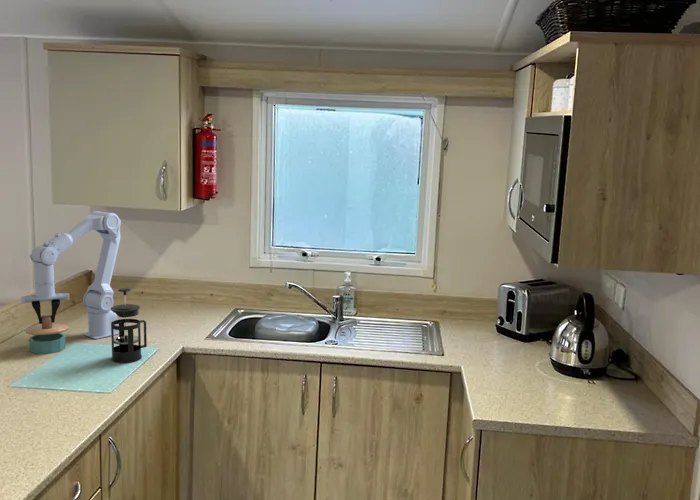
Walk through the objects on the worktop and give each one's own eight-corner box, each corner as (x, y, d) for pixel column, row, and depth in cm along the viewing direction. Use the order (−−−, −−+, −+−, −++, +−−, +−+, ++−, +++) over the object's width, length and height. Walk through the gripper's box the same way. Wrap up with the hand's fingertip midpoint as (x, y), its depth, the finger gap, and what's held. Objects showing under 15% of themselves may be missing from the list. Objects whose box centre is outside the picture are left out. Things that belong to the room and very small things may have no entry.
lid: (70, 324, 239) (69, 311, 238) (66, 333, 226) (65, 318, 226) (28, 327, 235) (27, 313, 234) (22, 336, 222) (22, 321, 222)
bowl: (55, 341, 240) (54, 330, 239) (71, 348, 233) (71, 337, 232) (24, 348, 231) (23, 337, 231) (39, 355, 225) (39, 344, 224)
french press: (114, 365, 218) (112, 293, 214) (105, 357, 225) (103, 287, 222) (151, 359, 225) (149, 289, 221) (141, 351, 232) (139, 283, 228)
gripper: (67, 278, 235) (69, 317, 237) (20, 281, 229) (22, 321, 231) (69, 282, 229) (71, 322, 231) (20, 285, 222) (22, 327, 225)
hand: (46, 322), depth 231 cm, fingers closed on lid, 3 cm apart
